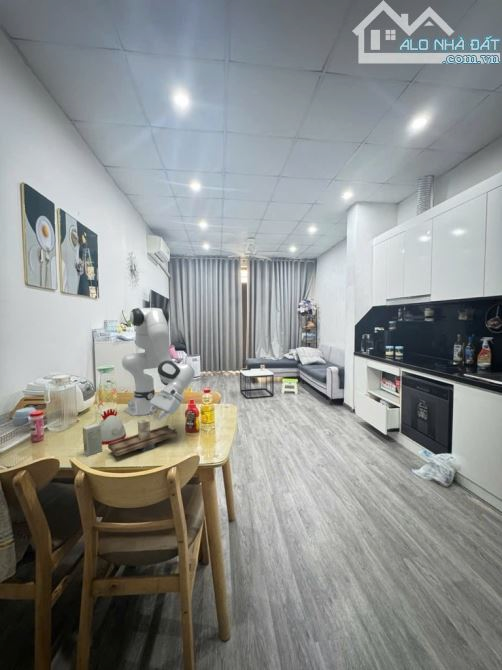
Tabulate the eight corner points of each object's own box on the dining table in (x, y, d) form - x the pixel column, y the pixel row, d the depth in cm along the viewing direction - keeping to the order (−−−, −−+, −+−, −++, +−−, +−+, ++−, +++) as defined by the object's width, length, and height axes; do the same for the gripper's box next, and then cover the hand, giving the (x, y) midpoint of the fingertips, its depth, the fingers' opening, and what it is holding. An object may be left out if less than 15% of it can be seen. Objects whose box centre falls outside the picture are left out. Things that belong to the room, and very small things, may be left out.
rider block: (146, 435, 126) (146, 418, 126) (150, 437, 123) (149, 420, 123) (138, 437, 123) (137, 421, 123) (141, 440, 120) (141, 423, 120)
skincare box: (98, 448, 122) (97, 422, 122) (102, 451, 119) (101, 424, 119) (83, 453, 117) (82, 426, 117) (86, 456, 114) (85, 429, 114)
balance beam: (166, 433, 137) (166, 424, 137) (177, 440, 129) (177, 430, 129) (108, 453, 117) (107, 442, 117) (117, 462, 109) (116, 450, 109)
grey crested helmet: (88, 441, 130) (87, 411, 129) (114, 431, 142) (113, 403, 141) (106, 447, 123) (105, 415, 123) (131, 435, 135) (130, 407, 135)
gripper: (158, 385, 138) (140, 408, 132) (178, 393, 124) (158, 419, 118) (166, 392, 142) (149, 415, 135) (186, 400, 127) (168, 425, 121)
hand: (153, 417), depth 126 cm, fingers open, 8 cm apart
